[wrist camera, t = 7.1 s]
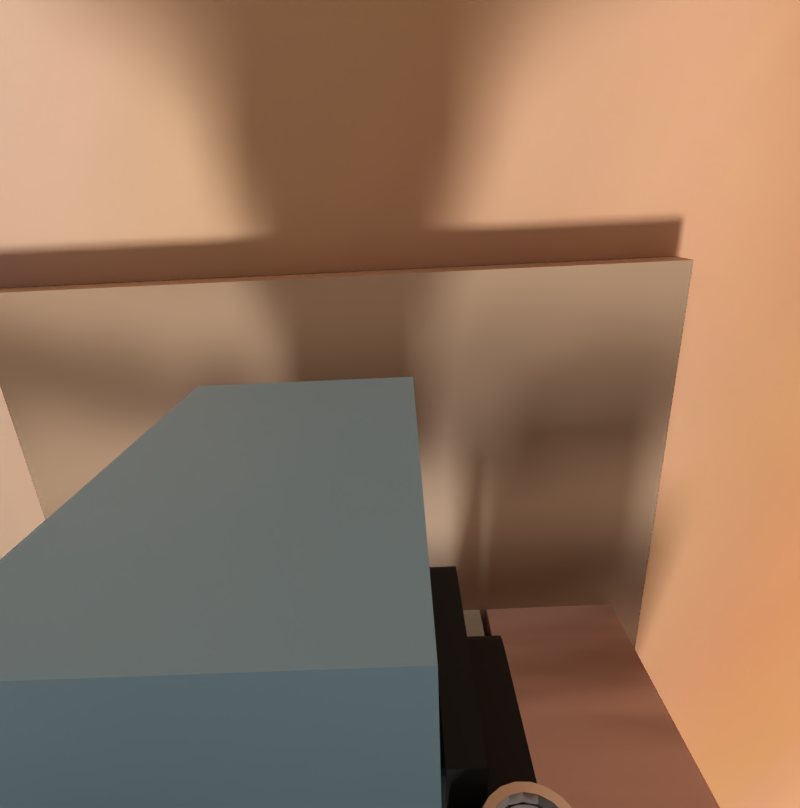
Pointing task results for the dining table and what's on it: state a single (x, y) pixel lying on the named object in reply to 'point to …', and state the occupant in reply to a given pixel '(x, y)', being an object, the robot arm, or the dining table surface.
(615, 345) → the shelf
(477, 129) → the dining table surface
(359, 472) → the book
